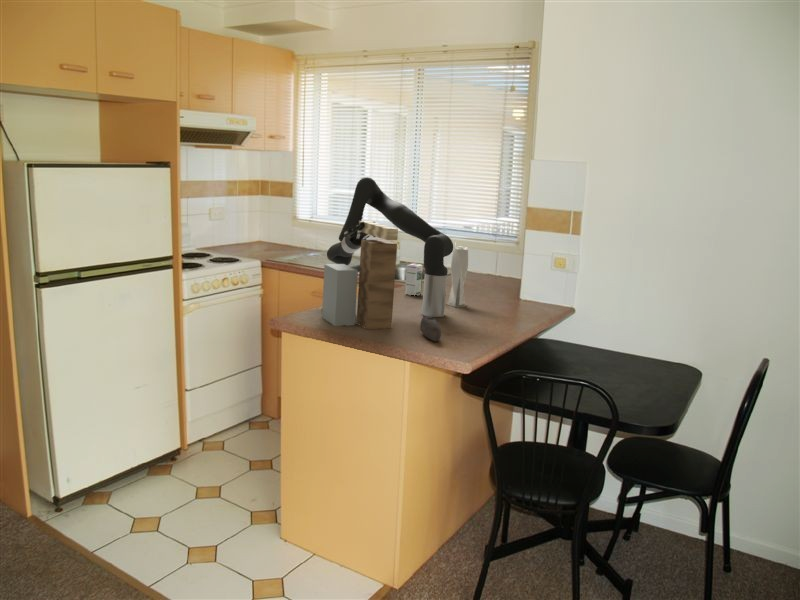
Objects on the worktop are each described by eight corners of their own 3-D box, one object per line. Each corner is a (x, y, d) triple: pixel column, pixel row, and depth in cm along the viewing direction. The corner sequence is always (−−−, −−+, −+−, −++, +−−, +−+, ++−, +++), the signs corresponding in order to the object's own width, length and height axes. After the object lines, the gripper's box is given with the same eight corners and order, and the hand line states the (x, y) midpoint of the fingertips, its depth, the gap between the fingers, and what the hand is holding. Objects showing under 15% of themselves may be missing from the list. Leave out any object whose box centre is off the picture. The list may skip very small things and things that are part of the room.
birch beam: (358, 231, 260) (358, 220, 259) (367, 231, 261) (368, 220, 261) (387, 240, 237) (387, 228, 236) (397, 240, 239) (398, 228, 238)
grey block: (322, 317, 262) (324, 264, 257) (341, 316, 265) (343, 263, 261) (334, 326, 250) (337, 270, 245) (354, 325, 253) (357, 270, 249)
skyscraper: (442, 304, 302) (447, 242, 296) (453, 302, 308) (459, 241, 302) (457, 307, 296) (463, 244, 290) (468, 305, 302) (474, 243, 296)
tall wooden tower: (356, 322, 257) (361, 239, 250) (380, 321, 261) (385, 239, 255) (367, 329, 248) (372, 243, 241) (391, 328, 252) (397, 243, 246)
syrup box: (415, 296, 315) (417, 265, 312) (404, 294, 318) (406, 264, 315) (421, 294, 319) (423, 264, 316) (410, 292, 322) (412, 263, 319)
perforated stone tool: (444, 344, 235) (445, 325, 234) (429, 344, 234) (431, 325, 233) (432, 333, 249) (433, 315, 248) (418, 333, 248) (419, 315, 247)
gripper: (335, 232, 268) (350, 214, 253) (368, 232, 274) (384, 215, 259) (338, 249, 266) (353, 232, 251) (370, 249, 272) (387, 233, 257)
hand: (369, 224), depth 255 cm, fingers closed on birch beam, 4 cm apart
